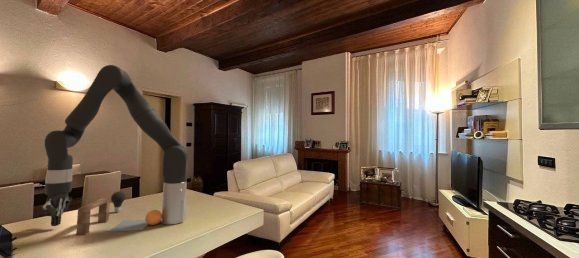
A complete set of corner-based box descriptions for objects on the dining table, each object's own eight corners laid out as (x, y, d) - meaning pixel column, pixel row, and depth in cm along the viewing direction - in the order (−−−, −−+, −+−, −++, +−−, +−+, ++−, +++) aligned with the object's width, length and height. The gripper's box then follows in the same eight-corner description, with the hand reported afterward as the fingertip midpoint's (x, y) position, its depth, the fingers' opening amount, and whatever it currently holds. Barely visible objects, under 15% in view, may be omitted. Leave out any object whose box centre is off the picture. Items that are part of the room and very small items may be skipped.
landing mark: (153, 219, 102) (153, 219, 102) (142, 230, 90) (142, 229, 90) (123, 221, 99) (123, 220, 99) (107, 231, 87) (107, 231, 87)
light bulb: (116, 214, 108) (118, 193, 108) (107, 213, 109) (108, 192, 109) (127, 210, 113) (128, 190, 114) (118, 210, 114) (119, 189, 115)
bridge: (108, 220, 99) (110, 198, 100) (85, 234, 85) (87, 208, 85) (100, 221, 99) (102, 198, 99) (76, 235, 84) (78, 208, 84)
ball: (164, 220, 100) (162, 206, 100) (159, 225, 94) (158, 211, 94) (149, 223, 98) (147, 209, 98) (144, 228, 92) (142, 214, 93)
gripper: (57, 183, 84) (53, 231, 83) (81, 178, 97) (78, 219, 96) (32, 184, 83) (28, 232, 82) (60, 178, 96) (57, 220, 95)
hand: (55, 225), depth 89 cm, fingers closed
